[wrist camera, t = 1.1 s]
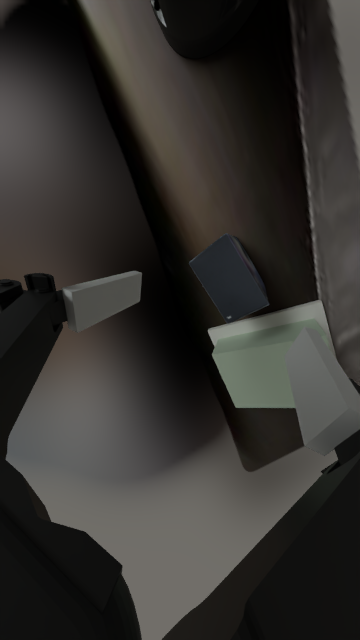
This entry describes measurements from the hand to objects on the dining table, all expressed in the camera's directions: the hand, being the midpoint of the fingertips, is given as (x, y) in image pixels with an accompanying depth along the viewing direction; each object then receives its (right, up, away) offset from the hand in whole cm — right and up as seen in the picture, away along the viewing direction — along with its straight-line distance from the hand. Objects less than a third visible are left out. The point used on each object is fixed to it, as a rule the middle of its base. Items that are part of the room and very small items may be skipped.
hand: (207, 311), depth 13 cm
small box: (+8, +8, +17) cm, 21 cm away
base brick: (+16, -8, +20) cm, 27 cm away
